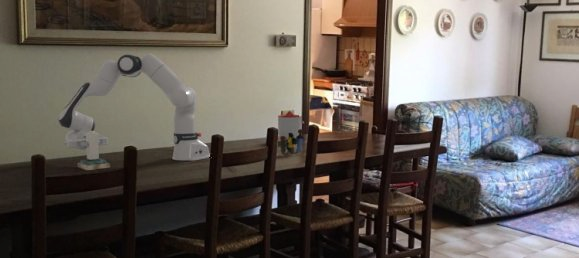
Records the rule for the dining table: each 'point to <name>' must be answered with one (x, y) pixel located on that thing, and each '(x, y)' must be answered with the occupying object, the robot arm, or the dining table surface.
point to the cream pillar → (92, 145)
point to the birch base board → (93, 164)
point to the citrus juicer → (289, 124)
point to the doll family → (291, 143)
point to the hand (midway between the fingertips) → (93, 143)
